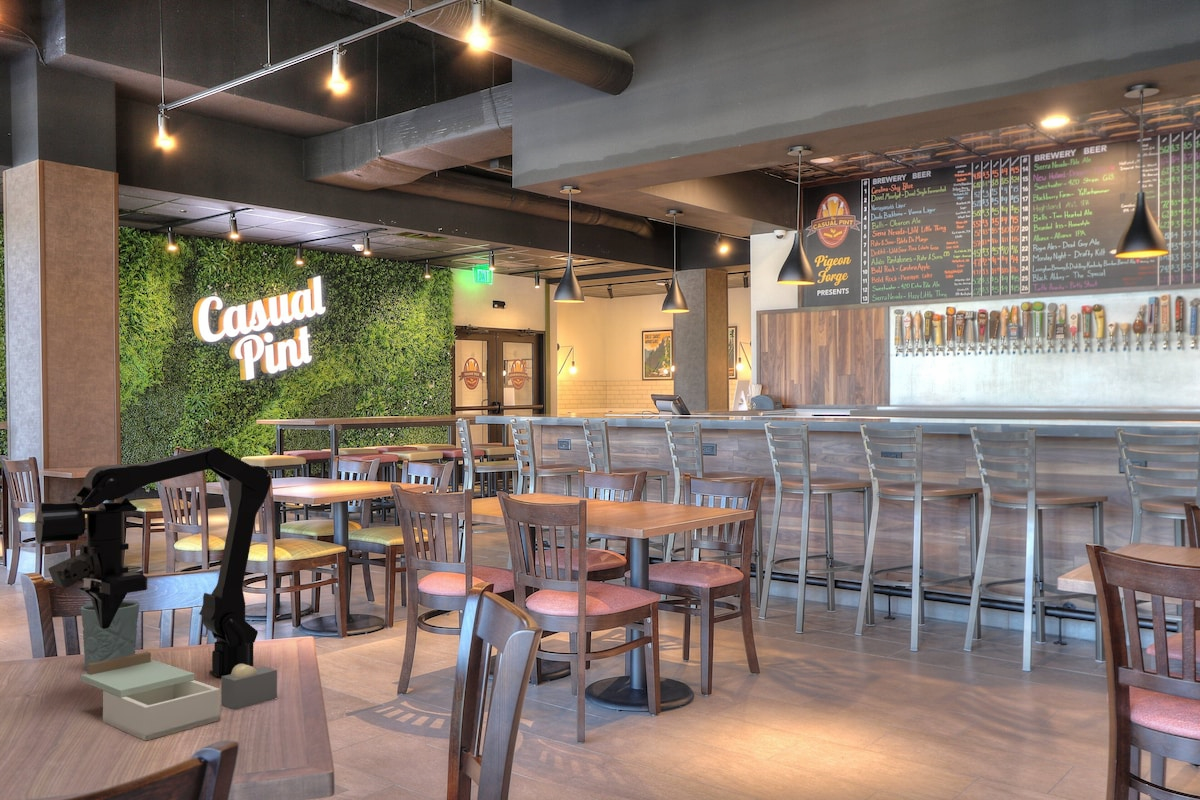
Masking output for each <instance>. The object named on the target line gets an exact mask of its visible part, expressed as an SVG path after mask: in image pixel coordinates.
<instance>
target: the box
mask: <svg viewBox="0 0 1200 800" xmlns="http://www.w3.org/2000/svg"><path fill="white" fill-rule="evenodd" d="M220 720H221V688H218V687H217V686H212V685H210V684H207V683H203V682H201V681H198V680H195V679H194V680H190V681H186V682H182V683H178V684H174V685H169V686H165V687H161V688H157V689H153V690H148V691H144V692H140V693H136V694H131V695H127V696H123V697H119V696H117V695H114V694H112V693H109V692H107V691H104V690H103V691H102V723H104V724H107V725H109V726H112V727H113V728H116V729H118V730H120V731H122V732H124V733H127V734H129V735H131V736H133V737H135V738H139V739H140V740H142V741H145V742H148V741H150V740H154V739H158V738H162V737H165V736H168V735H171V734H175V733H180V732H183V731H186V730H187V731H188V730H190V729H194V728H196V727H200V726H204V725H208V724H210V723H211V724H212V723H216V722H217V721H220Z"/></svg>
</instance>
